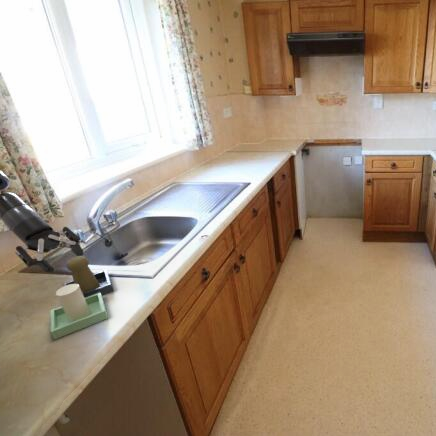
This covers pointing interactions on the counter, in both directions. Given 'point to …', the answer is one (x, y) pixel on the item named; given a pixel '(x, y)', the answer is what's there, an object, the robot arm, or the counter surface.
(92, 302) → the light tray
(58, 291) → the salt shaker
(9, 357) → the counter surface
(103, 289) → the dark tray
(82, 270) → the cork
